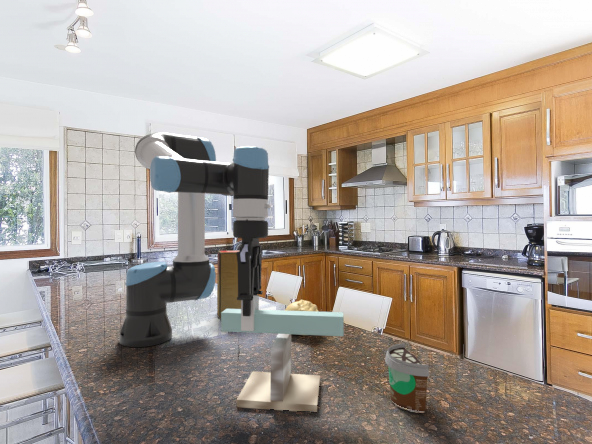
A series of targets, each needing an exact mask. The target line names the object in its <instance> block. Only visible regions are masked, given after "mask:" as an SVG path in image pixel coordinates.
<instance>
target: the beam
mask: <svg viewBox="0 0 592 444" xmlns="http://www.w3.org/2000/svg"><path fill="white" fill-rule="evenodd" d="M220 324H221V326H220V328H221V329H220V332H225V333H227V332H229V333H252V334H253V333H254V334H277V335H278V334H291V335H297V334H299V335H298V336H325V337H327V336H330V337H344V334H345V333H344V332H345V331H344V311H343V312H342V311H341V312H340V311H336V312H335V311H318V312H316V311H285V309H284V310H283V309H282V310H277V309H275V310H274V309H259V310H255V311H254V331H241V309H225V310H224V311H223V312H221V319H220Z"/></svg>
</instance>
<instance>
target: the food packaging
mask: <svg viewBox="0 0 592 444" xmlns="http://www.w3.org/2000/svg"><path fill="white" fill-rule="evenodd" d="M237 252H239V250H217V265H216V266H217V273H216V274H217V275H216V276H217V277H216V278H217V279H216V280H217V283H216V284H217V286H216V291H217V292H216V295H217V296H216V302H217V304H216V305H217V307H216V308H217V311H216V315H217V317H218V319H220V320H221V312H223V311H224V310H225V309H241V300H237V297H238V262H237V255H236V254H237Z"/></svg>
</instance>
